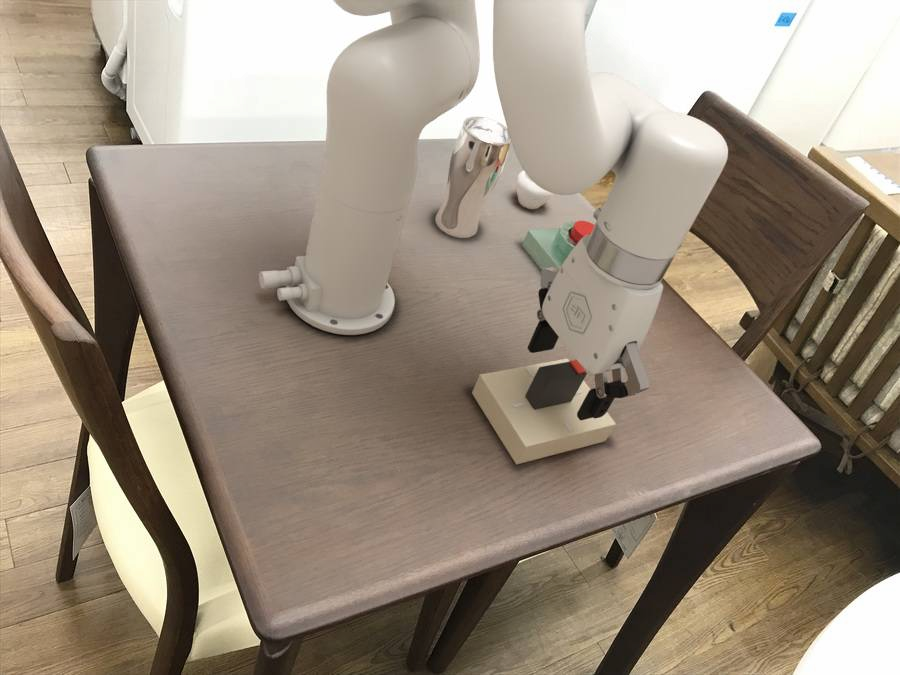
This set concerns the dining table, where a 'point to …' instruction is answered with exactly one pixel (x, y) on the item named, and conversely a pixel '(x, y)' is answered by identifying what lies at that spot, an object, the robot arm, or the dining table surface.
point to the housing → (550, 245)
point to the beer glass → (472, 174)
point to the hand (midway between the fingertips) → (563, 381)
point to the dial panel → (536, 416)
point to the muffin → (530, 192)
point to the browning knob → (555, 384)
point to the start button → (581, 230)
